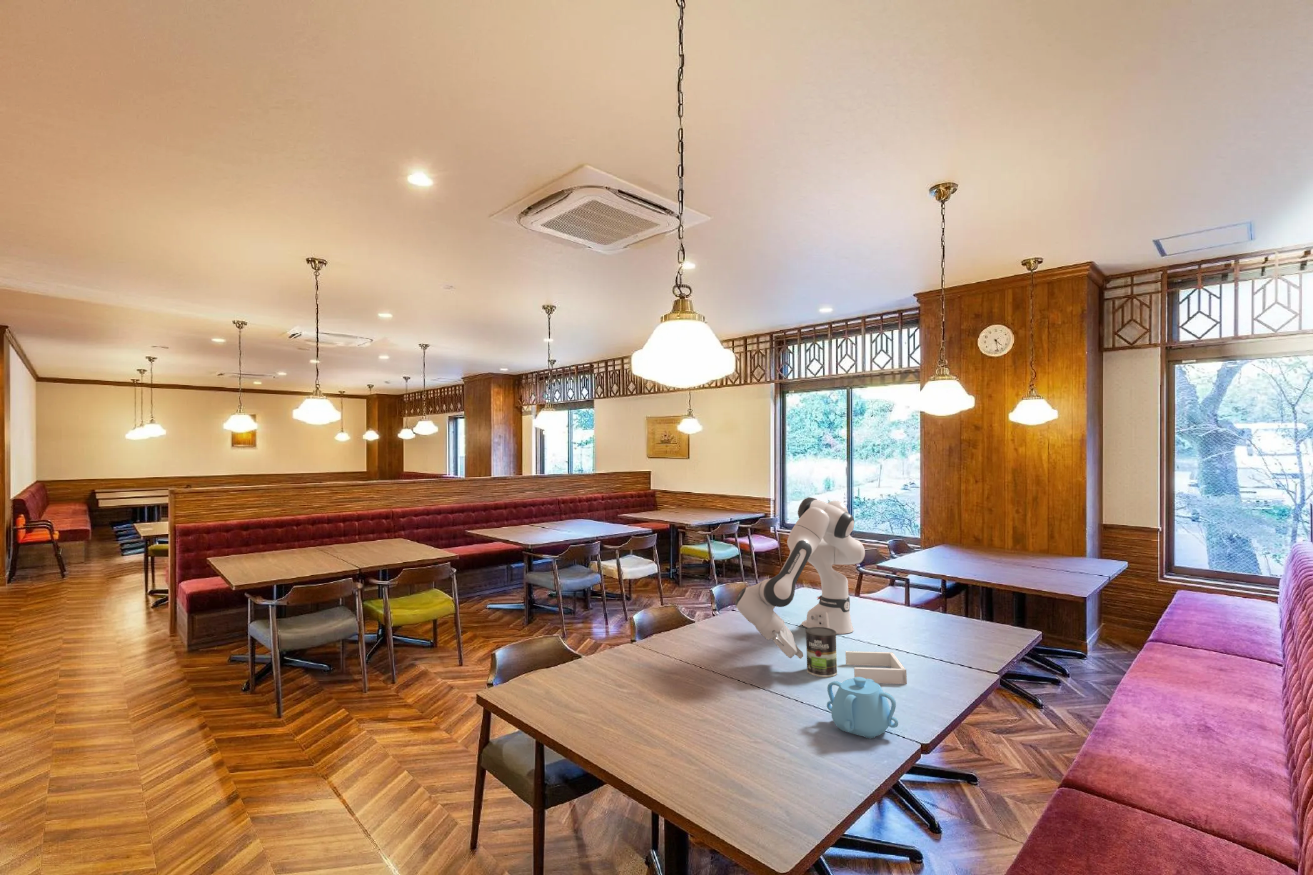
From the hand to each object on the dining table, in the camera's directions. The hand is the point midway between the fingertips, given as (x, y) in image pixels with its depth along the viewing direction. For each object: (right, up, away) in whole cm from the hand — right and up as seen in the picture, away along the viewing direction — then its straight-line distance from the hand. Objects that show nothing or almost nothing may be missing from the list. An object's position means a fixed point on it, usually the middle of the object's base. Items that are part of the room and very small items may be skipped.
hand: (801, 655), depth 200 cm
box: (+24, -4, -4) cm, 24 cm away
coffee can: (+7, -5, -1) cm, 9 cm away
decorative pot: (+5, -3, -43) cm, 44 cm away
